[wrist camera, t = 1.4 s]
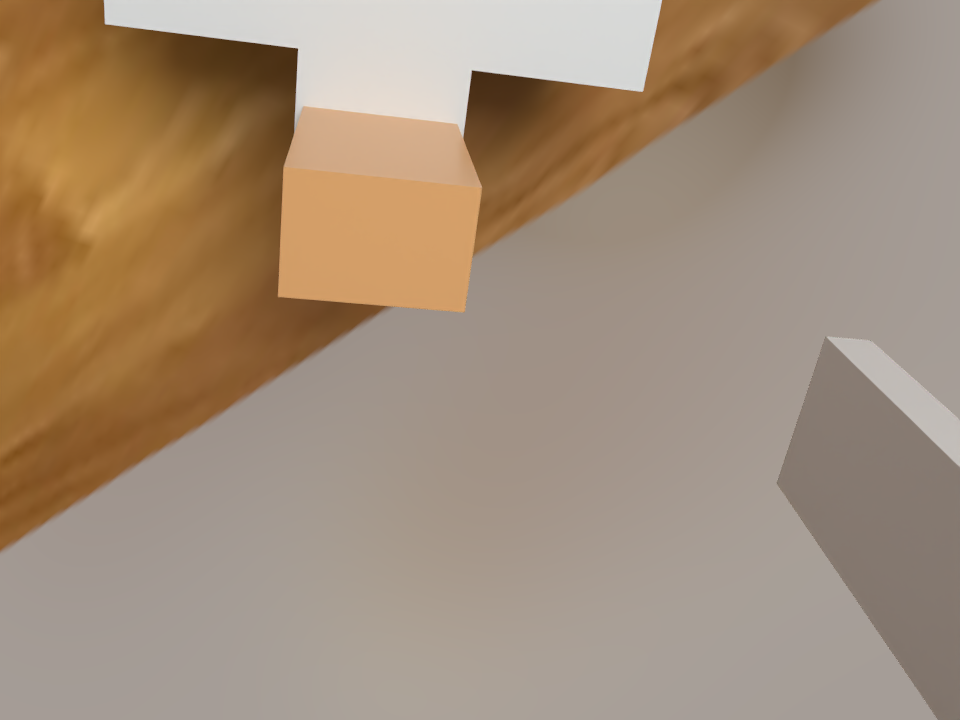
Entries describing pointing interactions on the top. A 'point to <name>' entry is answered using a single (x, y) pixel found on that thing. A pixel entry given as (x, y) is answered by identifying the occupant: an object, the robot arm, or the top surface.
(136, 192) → the top surface
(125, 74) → the top surface
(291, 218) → the lid
